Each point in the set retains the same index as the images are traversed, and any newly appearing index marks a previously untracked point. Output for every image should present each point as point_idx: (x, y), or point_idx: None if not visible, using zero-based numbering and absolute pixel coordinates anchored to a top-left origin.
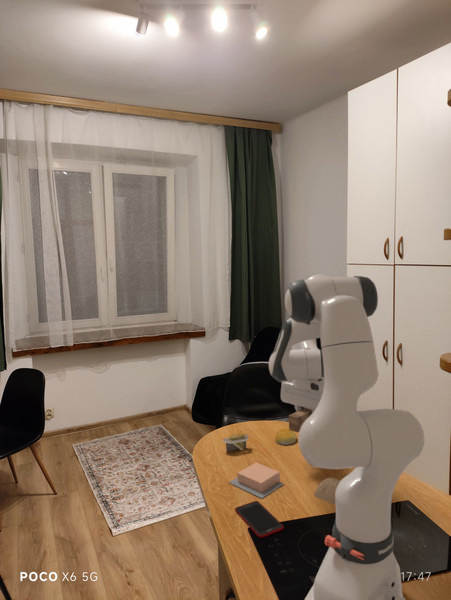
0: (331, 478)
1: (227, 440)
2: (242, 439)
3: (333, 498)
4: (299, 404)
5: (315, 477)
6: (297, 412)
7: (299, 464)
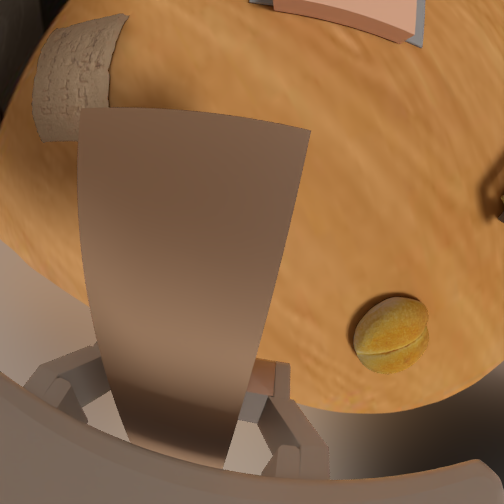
0: None
1: None
2: None
3: (70, 33)
4: (217, 492)
5: None
6: (224, 357)
7: None
